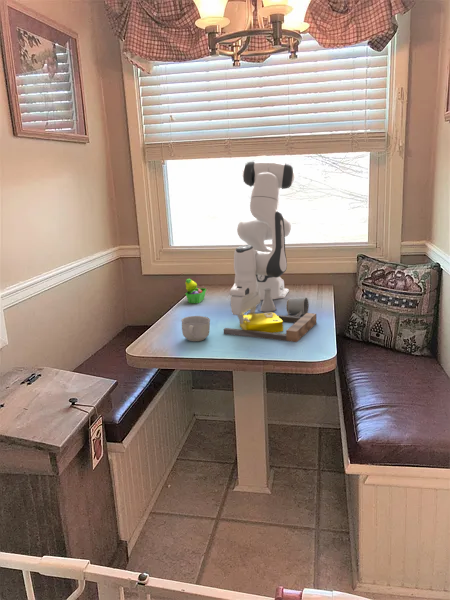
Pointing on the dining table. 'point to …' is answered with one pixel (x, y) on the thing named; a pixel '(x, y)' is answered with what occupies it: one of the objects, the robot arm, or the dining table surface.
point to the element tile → (262, 322)
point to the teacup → (195, 328)
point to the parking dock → (291, 334)
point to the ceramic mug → (297, 306)
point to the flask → (267, 302)
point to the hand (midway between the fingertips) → (247, 319)
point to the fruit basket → (194, 292)
